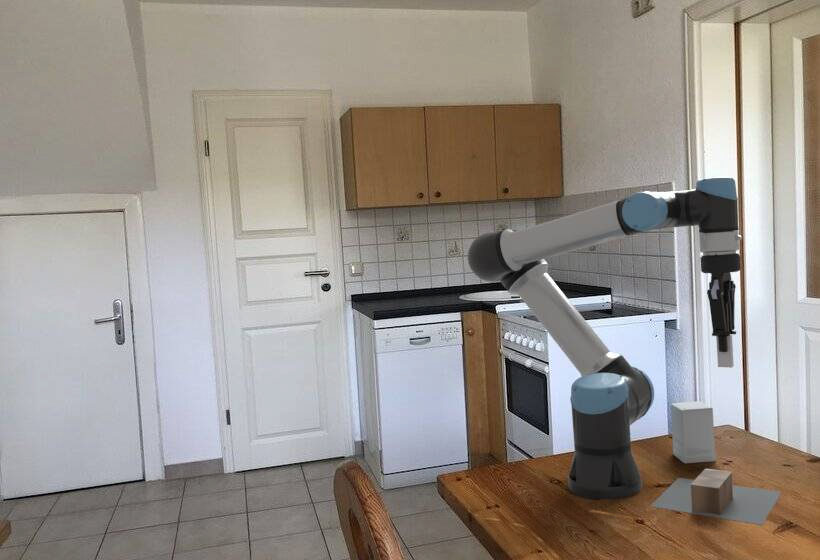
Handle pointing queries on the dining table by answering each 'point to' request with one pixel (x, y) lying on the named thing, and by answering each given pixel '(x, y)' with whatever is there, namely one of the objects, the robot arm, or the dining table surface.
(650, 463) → the dining table surface
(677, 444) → the supplement box
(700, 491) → the walnut block
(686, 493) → the rubber mat
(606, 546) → the dining table surface
